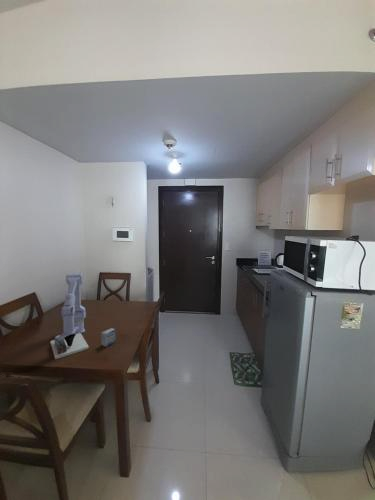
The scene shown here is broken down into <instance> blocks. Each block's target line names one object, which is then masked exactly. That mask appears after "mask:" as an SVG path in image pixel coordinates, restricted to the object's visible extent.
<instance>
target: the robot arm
mask: <svg viewBox="0 0 375 500" xmlns="http://www.w3.org/2000/svg"><path fill="white" fill-rule="evenodd" d="M65 282H66V285H68V288H67V289H68V291H67V294H66V295H65V298H64V304H63V306H62V307H61V311H60V312H61V316H62V317H61V318H62V319H63V321H62V322H63V323H62V324H63V332H62V333H61V334H59V335H60V336H59V337H58V340H60V341H61V340H62V339H63V338H64V339H65V341H66V343H67V345H68V346H72V343H73V339H74V337H75V335H76V334H79V333H81V334H82V333H85V332H86V329H85V325H84V324H85V322H84V319H86V316H87V312H86V307H85V306H83V305H82V304H81V303H82V302H81V301H82V300H81V297H82V296H81V285H83V284H84V274H83V273H67V274H66V275H65Z"/></svg>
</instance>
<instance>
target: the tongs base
mask: <svg viewBox="0 0 375 500" xmlns="http://www.w3.org/2000/svg"><path fill="white" fill-rule="evenodd" d="M53 340H55V347H56V350H57V354H59V353H62V347H61V345H60V340H58V339H55V338H54V339H53Z"/></svg>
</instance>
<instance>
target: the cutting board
mask: <svg viewBox="0 0 375 500" xmlns="http://www.w3.org/2000/svg"><path fill="white" fill-rule="evenodd" d="M64 341H65V339H64ZM65 344H66V348H67V351H66V352H62V353H59V354H57V350H56V347H55V340H54V339H52V340H50V346H51V349H52V353H53V357H54V360H57V359H58V360H59V359H60V358H65V357H68V356H70V355H74V354H77V353H79V352H83V351H86V350H89V347H90V346H89V345H88V343H87V340H85V338H84V336H83V335H82V333H78V334H76V335H75V337H74V339H73V343H72V346H68V345H67V343H66V341H65Z"/></svg>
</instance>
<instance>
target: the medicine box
mask: <svg viewBox="0 0 375 500" xmlns="http://www.w3.org/2000/svg"><path fill="white" fill-rule="evenodd" d="M100 335H101V337H100V338H101V339H100V340H101V346H104V347H109V346H111V345H112V344H114V343H115V342H116V341H117V340H116V329H115V328H112V327H110V328H108V329H106V330H103V331H102V332H100Z"/></svg>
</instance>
